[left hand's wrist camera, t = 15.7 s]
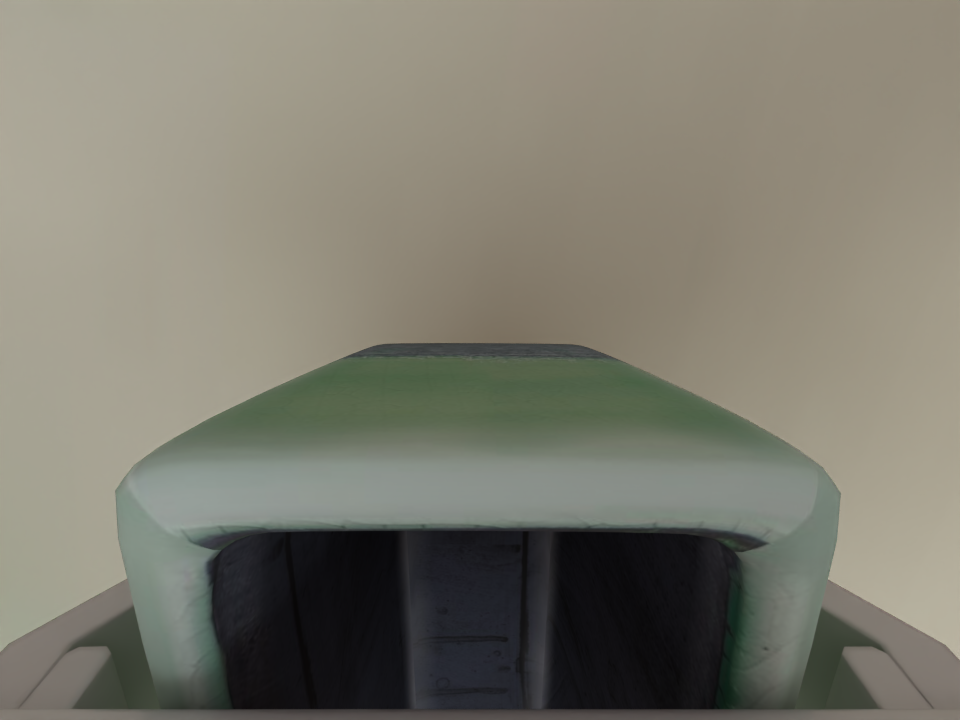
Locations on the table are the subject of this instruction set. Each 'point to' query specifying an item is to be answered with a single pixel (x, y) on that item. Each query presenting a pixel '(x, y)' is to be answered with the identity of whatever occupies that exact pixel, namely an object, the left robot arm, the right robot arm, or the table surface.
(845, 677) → the left robot arm
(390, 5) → the table surface
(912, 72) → the table surface
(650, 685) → the planter
